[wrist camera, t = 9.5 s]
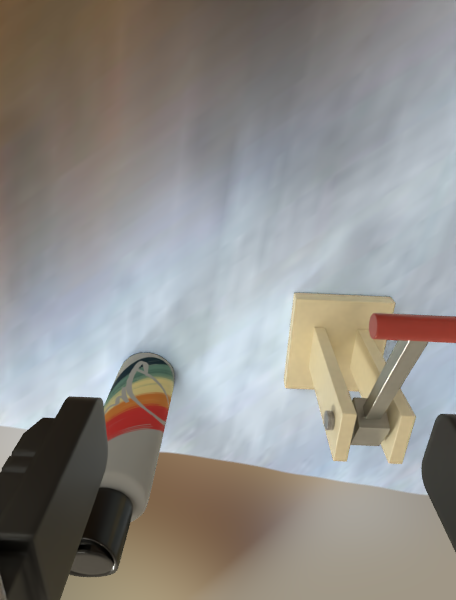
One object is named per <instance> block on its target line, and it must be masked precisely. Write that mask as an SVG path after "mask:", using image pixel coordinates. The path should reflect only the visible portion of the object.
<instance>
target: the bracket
mask: <svg viewBox="0 0 456 600" xmlns="http://www.w3.org/2000/svg"><path fill="white" fill-rule="evenodd" d="M394 307H395V302H394V301H393V299H392V298H391V297H382V296H359V295H336V294H313V293H294V298H293V307H292V315H291V324H290V332H289V340H288V349H287V357H286V366H285V374H284V384H285V388H292V389H314V390H315V393H316V396H317V400H318V404H319V408H320V412H321V416H322V419H323V423H324V427H325V431H326V435H327V439H328V442H329V446H330V450H331V454H332V458H333V461H347V457H348V453H349V448H350V444H351V439H352V434H353V430H354V425H355V421H356V416H357V413H356V411H355V408H354V405H353V402H352V400H351V397H350V394H349V392H348V391H359V392H360V394H361V397H362V398H368V396H369V394H370V392H371V390H372V388H373V387H374V385H375V383H376V381H377V379H378V377H379V375H380V373H381V372H382V370H383V368H384V366H385V364H386V362H385V360H384V358H383V354H384V350H385V345H386V341H387V340H378V339H372V338H371V336H370V333H369V320H370V317H371V315H372V314H373V313H386V314H393V311H394ZM386 412H387V417H388V421H389V425H390V431H389V432H388V434H387V435H386V436H385V438H384V439H383V441H382V442H381V446H382V448H383V451H384V453H385V455H386V458H387V460H388V463H392V464H402V462H403V459H404V455H405V452H406V449H407V445H408V442H409V439H410V435H411V432H412V429H413V425H414V422H415V419H416V416H415V414H414V412H413V411H412V409H411V407H410V405H409V403H408V402H407V400H406V398H405V396H404V394H403V392H402V391H401V389H399V390H398V392H397V394H396V395H395V397H394V398H393V400H392V402H391V403H390V405H389V406H388V408H387V410H386Z"/></svg>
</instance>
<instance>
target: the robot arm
mask: <svg viewBox="0 0 456 600" xmlns="http://www.w3.org/2000/svg"><path fill="white" fill-rule="evenodd" d="M107 458H108V441H107V432H106V423H105V414H104V405H103V401H102V399H101V398H93V397H68V398H67V399H66V400H65V402H64V403H63V405H62V407H61V409H60V410H59V412H58V414H57V416H56V418H42V419H41V420H39V421H38V422H37V423H36V424H35V425H33V426H32V427H31V428H30V429H29V430H27V431H26V432H25V433H24V434H23V435H22V437H21V439H20V441H19V442H18V443H17V445H16V447H15V448H14V450H13V451H12V455H11V456H9V458H8V459H7V461H6V463H5V464H4V466H3V467H2V471H1V473H0V600H60V598H61V596H62V593H63V590H64V587H65V584H66V581H67V578H68V576H69V573H70V570H71V567H72V564H73V561H74V558H75V556H76V553H77V550H78V547H79V544H80V541H81V538H82V536H83V533H84V530H85V527H86V524H87V521H88V519H89V516H90V513H91V510H92V507H93V504H94V501H95V499H96V496H97V493H98V490H99V487H100V484H101V481H102V479H103V476H104V473H105V469H106V465H107ZM422 478H423V483H424V486H425V489H426V491H427V493H428V495H429V497H430V499H431V501H432V503H433V506H434V508H435V510H436V511H437V514H438V516H439V518H440V520H441V522H442V524H443V526H444V529H445V531H446V533H447V535H448V537H449V539H450V541H451V543H452V545H453V548H454V550H455V552H456V414H440V415H439V416H438V417H437V418H436V420H435V423H434V426H433V429H432V432H431V435H430V439H429V442H428V445H427V448H426V451H425V454H424V457H423V460H422Z"/></svg>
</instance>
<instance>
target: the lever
mask: <svg viewBox="0 0 456 600" xmlns="http://www.w3.org/2000/svg"><path fill="white" fill-rule="evenodd" d="M369 333H370V336H371V338H372V339H378V340H398V341H397V343H396V345H395V347H394V349H393V351H392V353H391V355H390V356H389V358H388V360H387V362H386V364H385V366H384V368H383V370H382V372H381V373H380V375H379V377H378V379H377V381H376V383H375V385H374V387H373V388H372V390H371V392H370V394H369V396H368V398H353V400H352V402H353V405H354V408H355V411H356V413H357V416H356V421H355V425H354V430H353V434H352V439H351V444H350V445H366V446H379V445H380V444H381V442H382V441H383V439H384V438H385V436H386V435H387V434H388V432H389V431H390V425H389V421H388V417H387V412H386V410H387V408H388V406H389V405H390V403H391V402H392V400H393V398H394V397H395V395H396V394H397V392H398V390H399V389H400V387H401V386H402V384H403V382H404V381H405V379H406V377H407V376H408V374H409V373H410V371H411V369H412V368H413V366H414V365H415V363H416V361H417V360H418V358H419V357H420V355H421V353H422V352H423V350H424V348H425V347H426V345H427V344H428V342H446V343H456V317H455V316H432V315H409V314H386V313H373V314H372V315H371V317H370V320H369Z"/></svg>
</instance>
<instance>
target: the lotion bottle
mask: <svg viewBox="0 0 456 600" xmlns="http://www.w3.org/2000/svg"><path fill="white" fill-rule="evenodd" d="M174 379H175V376H174V371H173V369H172V367H171V365H170V364H169V363H168V362H167V361H166V360H165V359H164V358H162V357H161V356H158V355H156V354H153V353H138V354H135V355H132V356H131V357H129V358H128V359H127V360H126V361H125V362H124V363H123V365H122V366H121V368H120V370H119V372H118V375H117V377H116V379H115V382H114V384H113V386H112V389H111V391H110V393H109V395H108V398H107V400H106V402H105V405H104V414H105V423H106V432H107V441H108V458H107V465H106V469H105V473H104V476H103V479H102V481H101V484H100V487H99V490H98V493H97V496H96V499H95V501H94V504H93V507H92V510H91V513H90V516H89V519H88V521H87V524H86V527H85V530H84V533H83V536H82V538H81V541H80V544H79V547H78V550H77V553H76V556H75V558H74V561H73V564H72V567H71V570H70V573H69V574H70V575H74V576H80V577H101V576H107V575H111V574H113V573H115V572H116V571H117V569H118V566H119V563H120V559H121V555H122V551H123V548H124V544H125V540H126V537H127V533H128V529H129V525H130V522H131V521H133V520H135V519H137V518H138V517H139V516H140V515H142V513H143V512H144V511H145V509H146V506H147V504H148V500H149V496H150V491H151V487H152V483H153V478H154V474H155V469H156V465H157V460H158V455H159V451H160V447H161V442H162V437H163V433H164V428H165V424H166V419H167V415H168V410H169V406H170V401H171V397H172V392H173V387H174Z"/></svg>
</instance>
